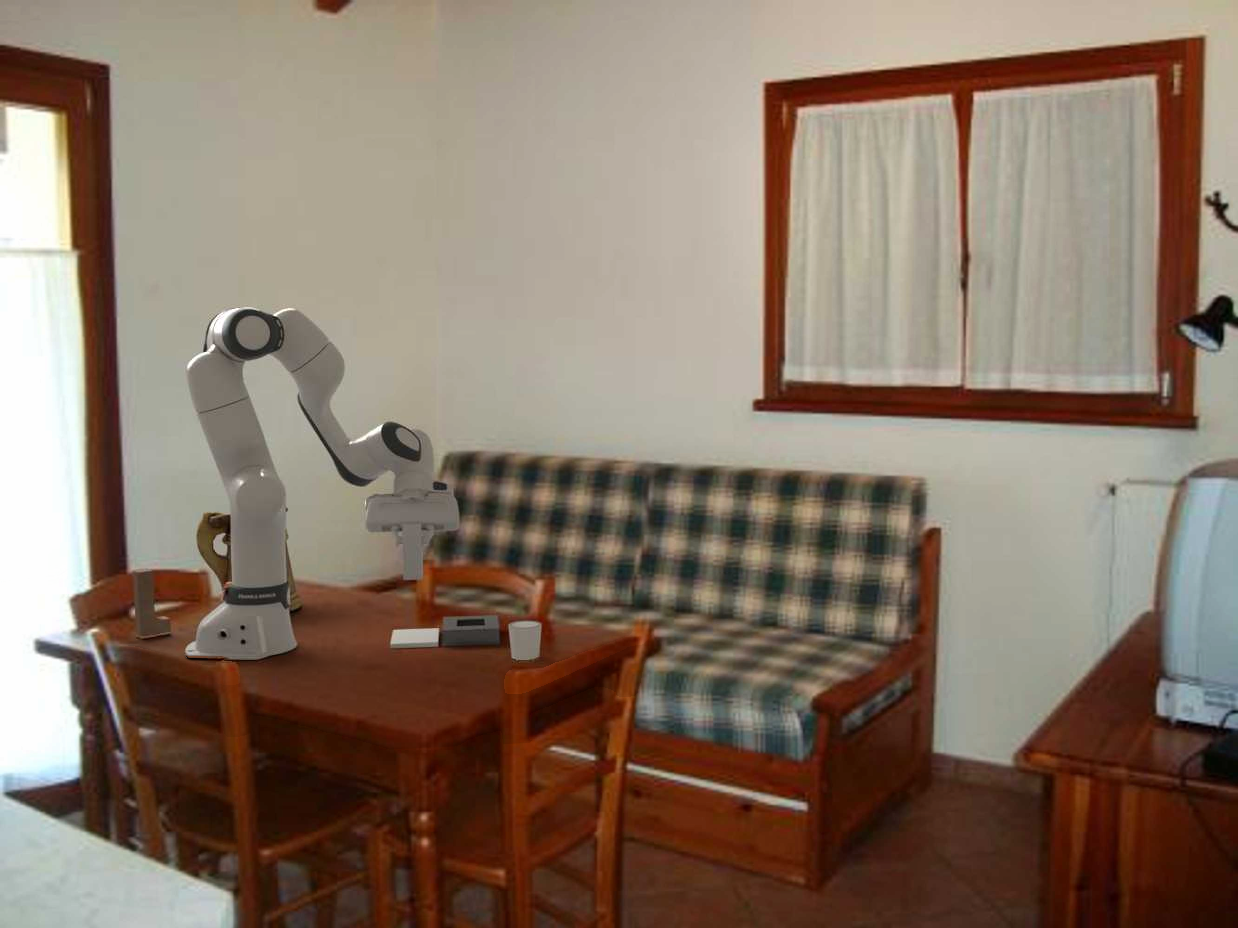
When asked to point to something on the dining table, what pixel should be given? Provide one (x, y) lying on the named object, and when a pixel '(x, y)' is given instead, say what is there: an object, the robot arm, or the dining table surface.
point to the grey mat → (415, 638)
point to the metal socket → (470, 630)
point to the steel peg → (412, 550)
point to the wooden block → (147, 605)
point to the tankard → (221, 564)
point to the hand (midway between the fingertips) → (412, 545)
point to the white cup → (525, 639)
